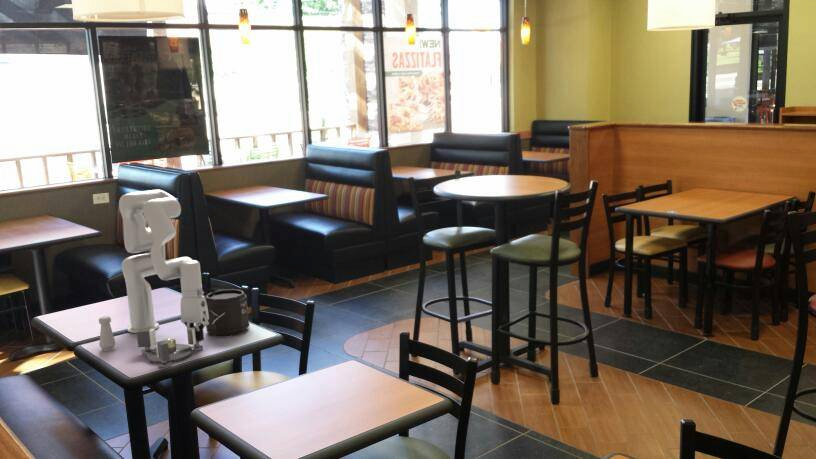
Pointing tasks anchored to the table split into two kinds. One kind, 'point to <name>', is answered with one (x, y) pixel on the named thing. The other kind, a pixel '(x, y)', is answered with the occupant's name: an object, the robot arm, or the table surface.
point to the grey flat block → (146, 338)
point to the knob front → (162, 350)
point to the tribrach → (171, 353)
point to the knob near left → (193, 336)
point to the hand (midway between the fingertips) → (196, 339)
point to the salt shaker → (106, 334)
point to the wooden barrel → (227, 313)
